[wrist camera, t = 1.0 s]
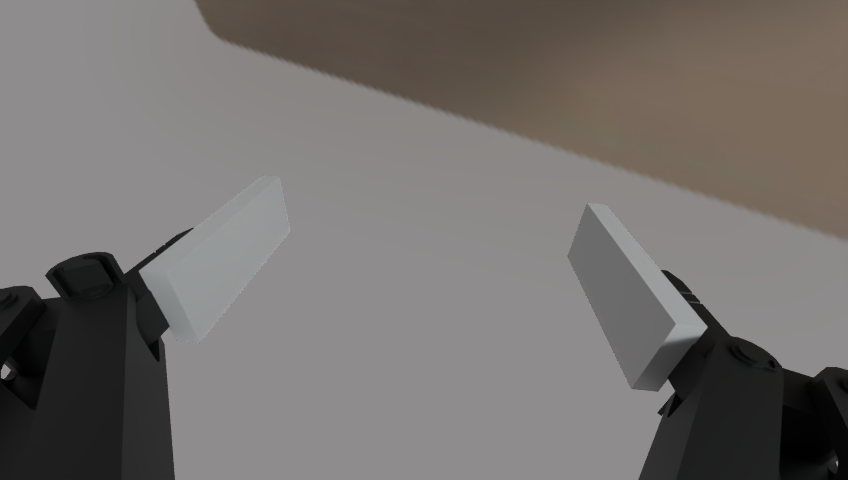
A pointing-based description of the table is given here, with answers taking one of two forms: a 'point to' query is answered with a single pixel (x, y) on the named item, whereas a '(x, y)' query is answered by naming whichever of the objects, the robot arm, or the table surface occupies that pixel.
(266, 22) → the table surface
